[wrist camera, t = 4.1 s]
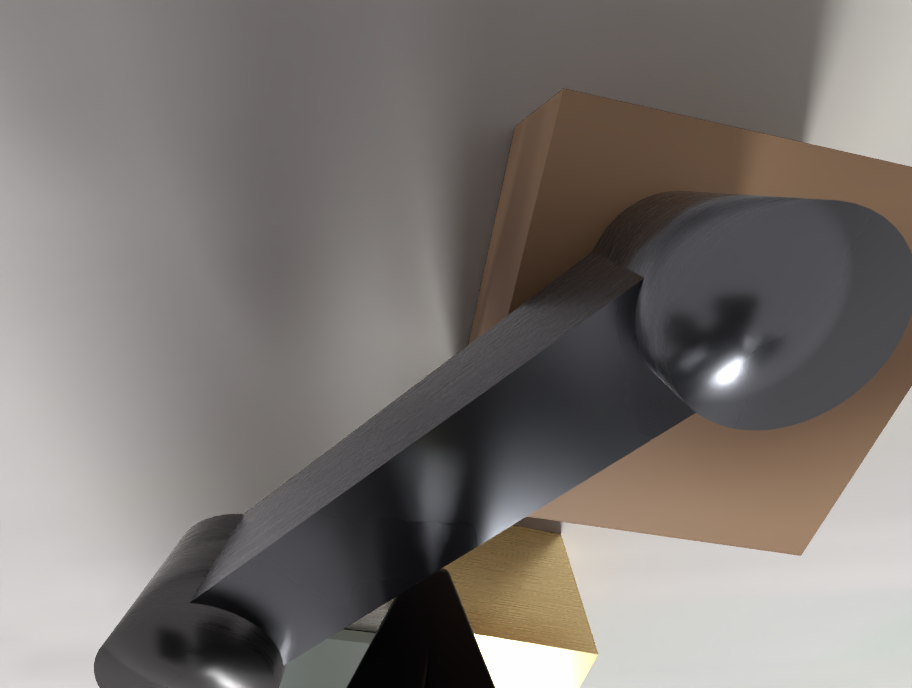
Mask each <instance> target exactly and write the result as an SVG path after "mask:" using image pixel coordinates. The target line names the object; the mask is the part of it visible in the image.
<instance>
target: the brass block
mask: <svg viewBox="0 0 912 688" xmlns="http://www.w3.org/2000/svg"><path fill="white" fill-rule="evenodd" d="M443 568H444V569H446V570H448V572H449V573H450V575H451V578H452V580H453V583H454V585H455V588H456V590H457V593H458V595H459V598H460V600H461V603H462V605H463V608H464V610H465V613H466V615H467V618H468V620H469V622H470V625H471V627H472V630H473V632H474V635H475V637H476V640H477V642H478V645H479V647H480V650H481V652H482V655H483V657H484V660H485V662H486V665H487V667H488V670H489V672H490V675H491V677H492V680H493V682H494V684H495V687H496V688H579V687H580V685H581V684H582V682H583V680H584V678H585V677H586V675H587V673H588V672H589V670H590V668H591V666H592V665H593V663H594V661H595V659H596V658H597V656H598V652H597V649H596V646H595V642H594V639H593V636H592V633H591V630H590V626H589V623H588V620H587V617H586V613H585V610H584V607H583V604H582V601H581V597H580V594H579V591H578V588H577V584H576V581H575V578H574V575H573V572H572V568H571V565H570V562H569V559H568V555H567V552H566V549H565V546H564V543H563V539H562V536H561V535H560V534H555V533H550V532H545V531H540V530H535V529H529V528H524V527H519V526H514V525H512V526H510V527H509V528H507V529H505V530H504V531H502V532H501V533H499V534H497V535H496V536H494V537H492V538H491V539H489V540H488V541H486V542H484V543H483V544H481V545H479V546H478V547H476V548H474V549H473V550H471V551H470V552H468V553H466V554H465V555H463V556H461V557H460V558H458V559H457V560H455V561H453V562H452V563H450V564H448V565H447V566H445V567H443Z"/></svg>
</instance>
